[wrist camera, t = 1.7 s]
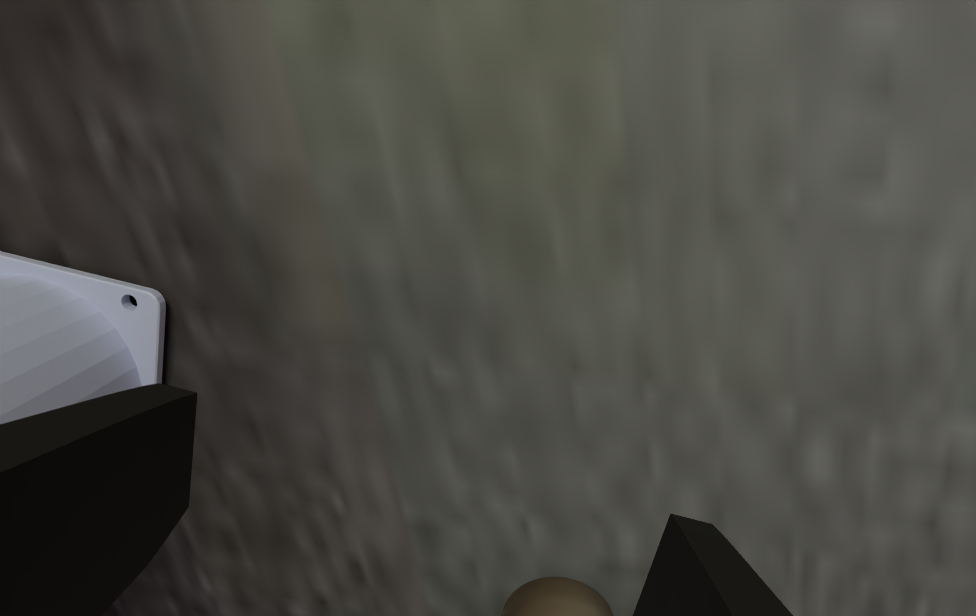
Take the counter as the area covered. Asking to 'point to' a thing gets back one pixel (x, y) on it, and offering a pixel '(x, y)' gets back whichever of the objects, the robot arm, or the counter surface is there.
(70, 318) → the robot arm
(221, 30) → the counter surface
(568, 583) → the beige cylinder
